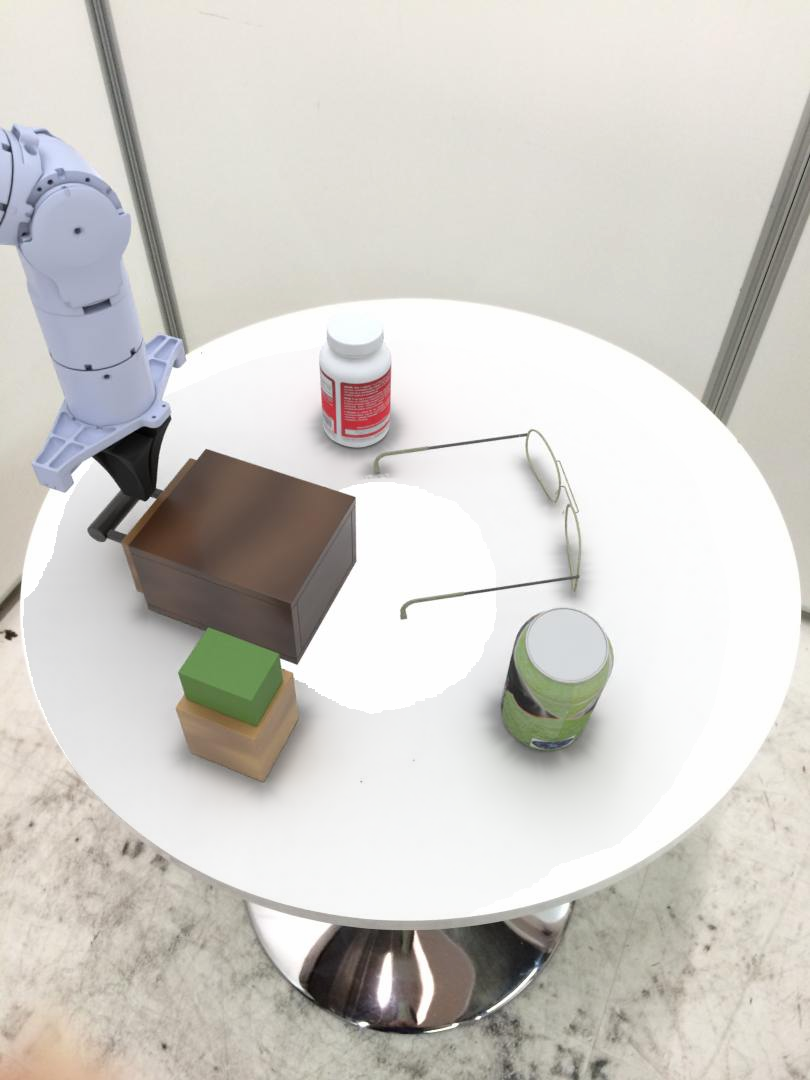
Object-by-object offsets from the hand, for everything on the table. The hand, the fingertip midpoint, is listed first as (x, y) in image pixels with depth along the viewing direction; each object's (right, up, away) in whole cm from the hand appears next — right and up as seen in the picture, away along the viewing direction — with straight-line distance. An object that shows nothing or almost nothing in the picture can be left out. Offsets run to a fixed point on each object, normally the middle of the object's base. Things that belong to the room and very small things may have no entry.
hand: (139, 491), depth 65 cm
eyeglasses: (+26, -3, +8) cm, 27 cm away
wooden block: (+9, -17, -5) cm, 20 cm away
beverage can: (+29, -17, -4) cm, 34 cm away
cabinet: (+8, -7, +3) cm, 11 cm away
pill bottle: (+15, +7, +15) cm, 23 cm away
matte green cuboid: (+9, -13, -10) cm, 19 cm away
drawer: (+4, -5, +3) cm, 8 cm away
